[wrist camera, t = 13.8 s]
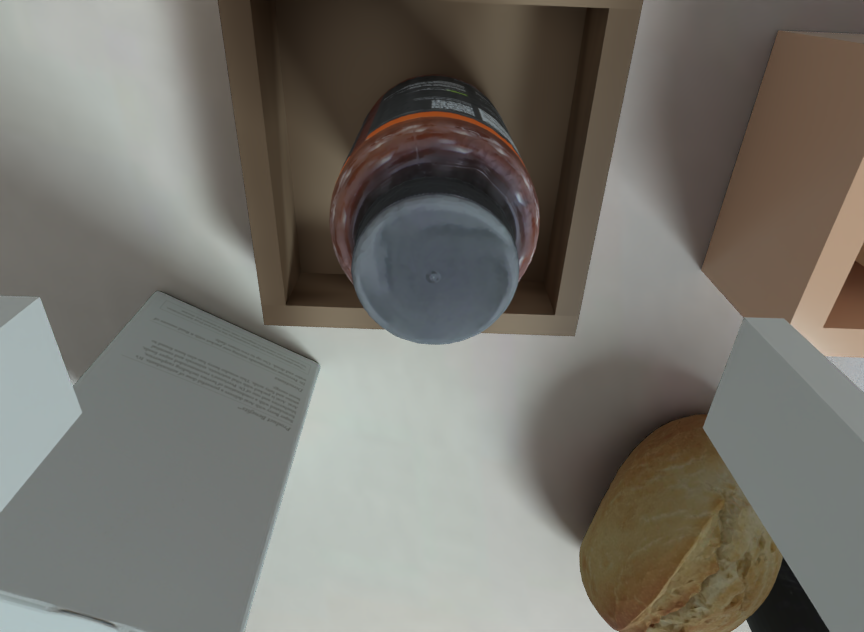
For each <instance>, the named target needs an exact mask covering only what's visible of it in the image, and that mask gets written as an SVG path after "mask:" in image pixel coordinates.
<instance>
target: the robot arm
mask: <svg viewBox="0 0 864 632" xmlns="http://www.w3.org/2000/svg"><path fill="white" fill-rule="evenodd" d="M81 414H82V411H81V408H80V405H79V402H78V400H77V397H76V394H75V391H74V389H73V386H72V383H71V381H70V378H69V375H68V372H67V370H66V367H65V364H64V361H63V359H62V356H61V353H60V351H59V348H58V345H57V342H56V340H55V337H54V334H53V331H52V329H51V326H50V323H49V321H48V318H47V315H46V312H45V310H44V307H43V304H42V301H41V299H40V297H30V296H0V512H1V511H2V510H3V509H4V508H5V506H6V505H7V504H8V503H9V501H10V500H11V499H12V498H13V497H14V495H15V494H16V493H17V492H18V490H19V489H20V488H21V487H22V486H23V484H24V483H25V482H26V481H27V480H28V478H29V477H30V476H31V475H32V473H33V472H34V471H35V470H36V469H37V467H38V466H39V465H40V464H41V462H42V461H43V460H44V459H45V458H46V456H47V455H48V454H49V453H50V451H51V450H52V449H53V448H54V447H55V445H56V444H57V443H58V442H59V440H60V439H61V438H62V437H63V436H64V434H65V433H66V432H67V431H68V429H69V428H70V427H71V426H72V425H73V423H74V422H75V421H76V420H77V418H78V417H79V416H80V415H81ZM703 429H704V431H705V432H706V434H707V436H708V437H709V439H710V440H711V442H712V444H713V445H714V447H715V448H716V450H717V452H718V453H719V455H720V456H721V458H722V460H723V461H724V463H725V464H726V466H727V468H728V469H729V471H730V472H731V474H732V476H733V477H734V479H735V480H736V482H737V484H738V485H739V487H740V488H741V490H742V492H743V493H744V495H745V496H746V498H747V500H748V501H749V503H750V504H751V506H752V508H753V509H754V511H755V512H756V514H757V516H758V517H759V519H760V520H761V522H762V524H763V525H764V527H765V528H766V530H767V532H768V533H769V535H770V536H771V538H772V540H773V541H774V543H775V544H776V546H777V548H778V549H779V551H780V552H781V554H782V556H783V557H784V559H785V561H786V562H787V564H788V565H789V567H790V569H791V570H792V572H793V573H794V575H795V577H796V578H797V580H798V581H799V583H800V585H801V586H802V588H803V589H804V591H805V593H806V594H807V596H808V597H809V599H810V601H811V602H812V604H813V605H814V607H815V609H816V610H817V612H818V613H819V615H820V617H821V618H822V620H823V621H824V623H825V625H826V626H827V628H828V629H829V631H830V632H864V392H863V391H862V390H861V389H859V388H858V387H857V386H856V385H855V384H854V383H853V382H852V381H851V380H850V379H849V378H848V377H847V376H845V375H844V374H843V373H842V372H841V371H840V370H839V369H838V368H837V367H836V366H835V365H834V364H833V363H831V362H830V361H829V360H828V359H827V358H826V357H825V356H824V355H823V354H822V353H821V352H820V351H818V350H817V349H816V348H815V347H814V346H813V345H812V344H811V343H810V342H809V341H808V340H807V339H806V338H804V337H803V336H802V335H801V334H800V333H799V332H798V331H797V330H796V329H795V328H794V327H793V326H792V325H790V324H789V323H788V322H787V321H786V320H785V319H784V318H752V317H744V319H743V321H742V324H741V327H740V329H739V332H738V335H737V337H736V340H735V343H734V345H733V348H732V351H731V354H730V356H729V359H728V362H727V364H726V367H725V370H724V372H723V375H722V378H721V380H720V383H719V386H718V388H717V391H716V394H715V396H714V399H713V402H712V404H711V407H710V410H709V412H708V415H707V418H706V420H705V423H704V426H703Z"/></svg>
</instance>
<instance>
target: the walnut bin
mask: <svg viewBox="0 0 864 632" xmlns="http://www.w3.org/2000/svg"><path fill="white" fill-rule="evenodd" d="M218 5H219V12H220V19H221V26H222V33H223V40H224V47H225V54H226V61H227V68H228V75H229V82H230V89H231V96H232V103H233V110H234V117H235V124H236V131H237V138H238V145H239V152H240V159H241V166H242V173H243V180H244V187H245V194H246V200H247V207H248V214H249V221H250V228H251V235H252V242H253V249H254V256H255V263H256V270H257V277H258V284H259V291H260V298H261V305H262V312H263V319H264V325H278V326H306V327H333V328H361V329H384V328H382V327H381V326H380V325H379V324H378V323H376V322H375V321H374V320H373V319H372V318H371V317H370V316H369V315H368V313H367V312H366V310H365V309H364V308H363V306H362V304H361V303H360V301H359V299H358V297H357V294H356V291H355V288H354V285H353V284H352V282H351V281H350V280H349V278H348V277H347V275H346V274H345V272H344V271H343V269H342V267H341V265H340V263H339V261H338V259H337V257H336V254H335V251H334V249H333V244H332V240H331V234H330V226H329V218H330V205H331V198H332V193H333V190H334V187H335V184H336V181H337V179H338V177H339V174H340V172H341V169H342V167H343V164H344V162H345V160H346V158H347V156H348V154H349V152H350V150H351V148H352V146H353V144H354V142H355V140H356V137H357V135H358V133H359V131H360V129H361V127H362V124H363V122H364V120H365V118H366V116H367V115H368V113H369V112H370V110H371V109H372V107H373V106H374V105H375V103H376V102H377V101H378V100H379V99H380V98H381V96H382V95H384V94H385V93H386V92H387V91H388V90H389V89H391V88H392V87H394V86H395V85H397V84H399V83H400V82H402V81H404V80H406V79H409V78H412V77H417V76H420V75H432V74H439V75H446V76H451V77H454V78H458V79H461V80H463V81H465V82H467V83H469V84H471V85H473V86H475V87H476V88H477V89H478V90H479V91H480V92H482V93H483V94H484V95H485V96H486V97H487V98H488V99H489V100H490V101H491V103H492V104H493V105H494V107H495V108H496V110H497V111H498V113H499V114H500V116H501V118H502V120H503V122H504V124H505V126H506V128H507V130H508V132H509V134H510V136H511V138H512V140H513V142H514V144H515V146H516V148H517V151H518V153H519V155H520V157H521V158H522V161H523V163H524V165H525V167H526V169H527V171H528V173H529V175H530V177H531V180H532V182H533V185H534V187H535V191H536V194H537V198H538V204H539V215H540V226H539V235H538V240H537V244H536V249H535V252H534V254H533V257H532V261H531V262H530V264H529V266H528V268H527V269H526V271H525V273H524V275H523V276H522V277H521V279H520V281H519V282H518V286H517V288H516V291H515V294H514V296H513V299H512V300H511V302H510V304H509V306H508V307H507V309H506V310H505V312H504V313H502V315H501V316H500V317H499V318H498V319H497V320H496V321H495V322H494V323H493V324H492V325H491V326H490V327H488V328H487V329H486V330H484V331H483V332H481V333H498V334H526V335H554V336H575V333H576V328H577V323H578V319H579V314H580V309H581V304H582V299H583V294H584V289H585V284H586V279H587V274H588V269H589V265H590V260H591V255H592V250H593V245H594V240H595V235H596V230H597V225H598V220H599V216H600V211H601V206H602V201H603V196H604V191H605V186H606V181H607V176H608V171H609V166H610V162H611V157H612V152H613V147H614V142H615V137H616V132H617V127H618V122H619V117H620V113H621V108H622V103H623V98H624V93H625V88H626V83H627V78H628V73H629V68H630V64H631V59H632V54H633V49H634V44H635V39H636V34H637V29H638V24H639V19H640V14H641V10H642V5H643V0H218Z"/></svg>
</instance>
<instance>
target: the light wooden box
mask: <svg viewBox="0 0 864 632" xmlns="http://www.w3.org/2000/svg"><path fill="white" fill-rule="evenodd" d="M863 243H864V34H853V33H829V32H805V31H781V30H778V33H777V36H776V39H775V42H774V45H773V48H772V52H771V55H770V58H769V61H768V64H767V67H766V70H765V73H764V76H763V79H762V83H761V86H760V89H759V92H758V95H757V98H756V101H755V104H754V107H753V111H752V114H751V117H750V120H749V123H748V126H747V129H746V132H745V135H744V138H743V142H742V145H741V148H740V151H739V154H738V157H737V160H736V163H735V166H734V170H733V173H732V176H731V179H730V182H729V185H728V188H727V191H726V194H725V197H724V201H723V204H722V207H721V210H720V213H719V216H718V219H717V222H716V225H715V229H714V232H713V235H712V238H711V241H710V244H709V247H708V250H707V253H706V257H705V260H704V263H703V266H702V269H701V271H702V272H703V273H704V274H705V275H706V276H707V277H708V278H709V280H710V281H711V282H712V283H713V284H714V285H715V286H716V287H717V289H718V290H719V291H720V292H721V293H722V294H723V295H724V296H725V297H726V299H727V300H728V301H729V302H730V303H731V304H732V305H733V306H734V307H735V309H736V310H737V311H738V312H739V313H740V314H741V315H742V316H743V318H744V317H752V318H784V319H785V320H786V321H787V322H788V323H789V324H790V325H792V326H793V327H794V328H795V329H796V330H797V331H798V332H799V333H800V334H801V335H802V336H803V337H804V338H806V339H807V340H808V341H809V342H810V343H811V344H812V345H813V346H814V347H815V348H816V349H817V350H818V351H820V352H821V353H822V354H823V355H824V356H831V357H859V358H864V266H862V265H861V264H859V263H858V262H856V261H855V260H856V257H857V255H858V253H859V251H860V249H861V247H862V245H863Z"/></svg>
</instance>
